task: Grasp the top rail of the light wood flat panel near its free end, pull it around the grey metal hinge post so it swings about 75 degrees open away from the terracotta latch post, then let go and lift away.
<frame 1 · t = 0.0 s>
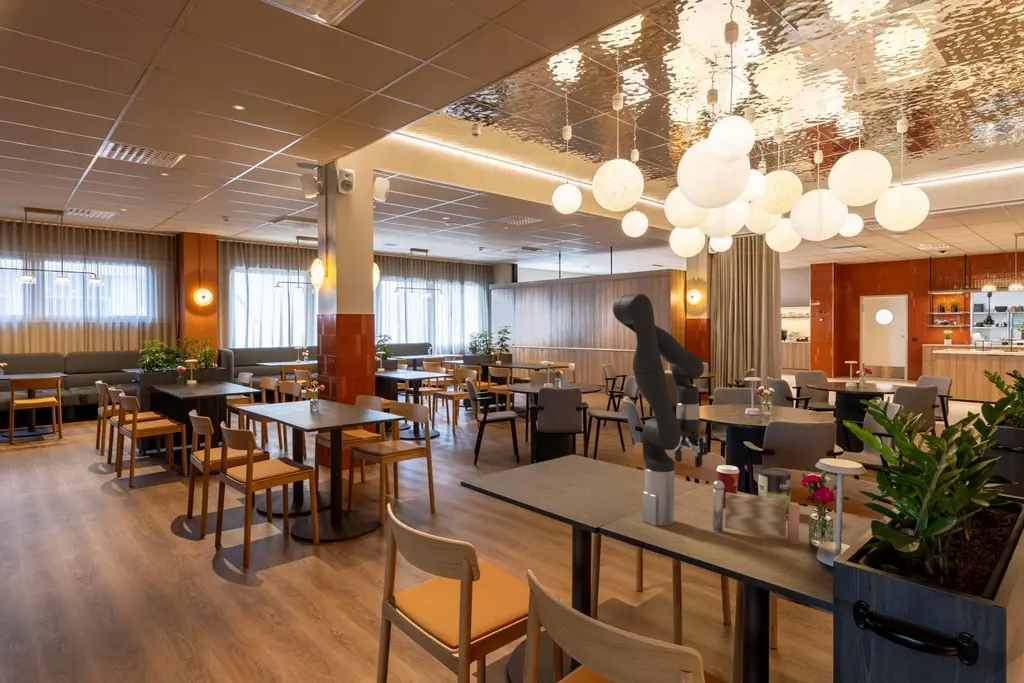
hand: (688, 464, 188), 17 cm above the table, tool pointing down, fingers open, 8 cm apart
latch post: (793, 542, 165), on the table
hinge post: (717, 530, 174), on the table
light wood flat panel: (755, 514, 169), point 7 cm above the table, hinge at 0.0°
paper cup: (727, 506, 198), on the table
coffee can: (773, 512, 193), on the table
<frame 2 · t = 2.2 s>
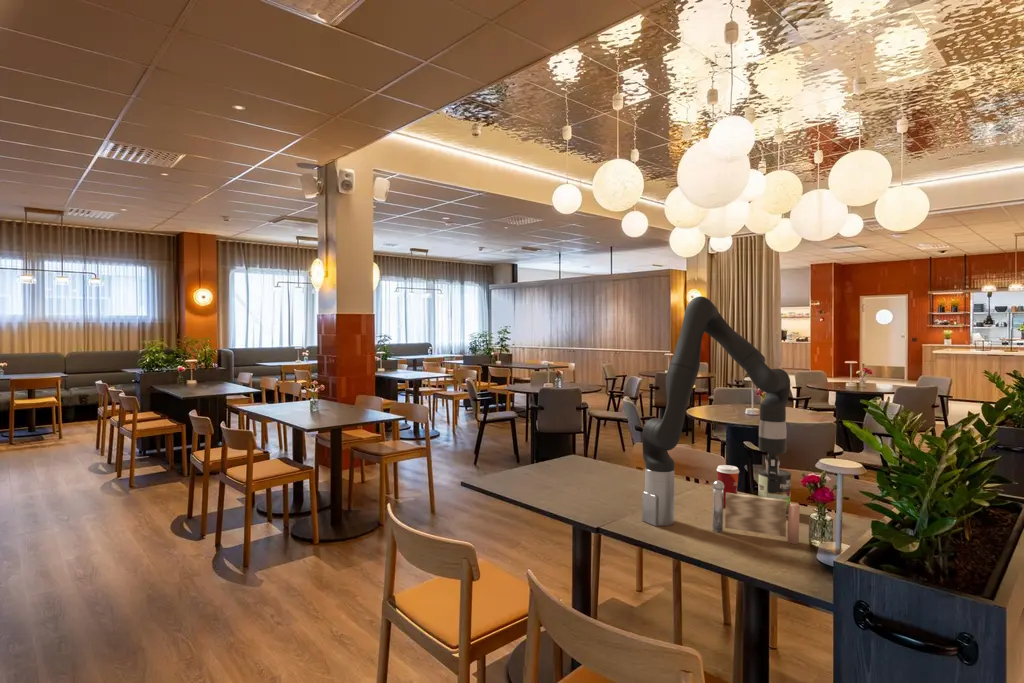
hand: (772, 489, 168), 15 cm above the table, tool pointing down, fingers open, 8 cm apart
nothing on the table moved.
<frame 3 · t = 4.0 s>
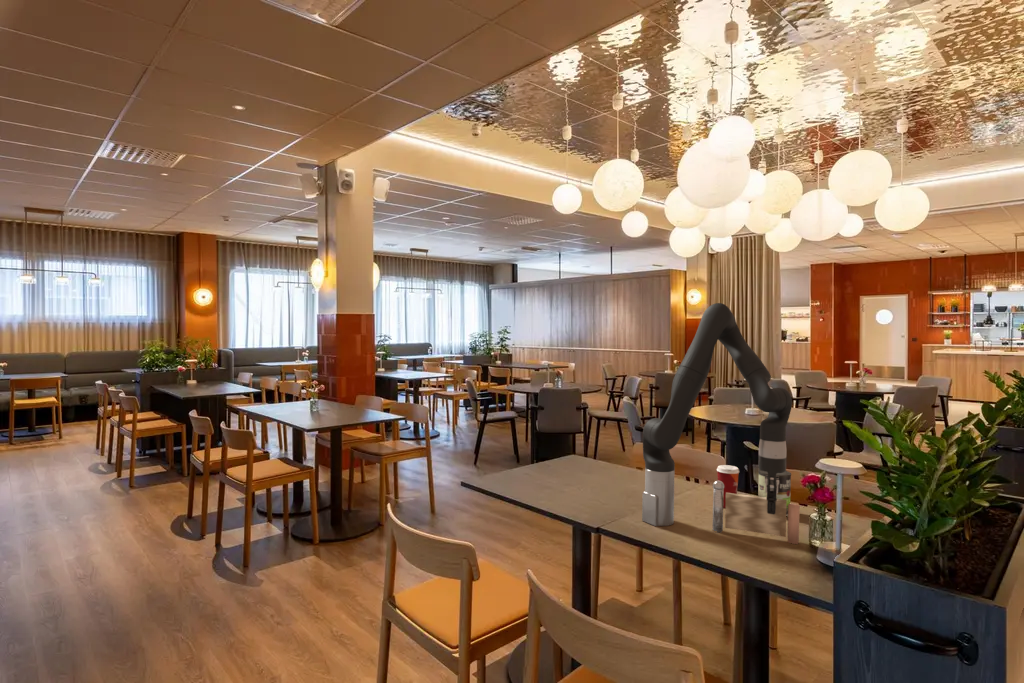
hand: (771, 512, 167), 8 cm above the table, tool pointing down, fingers closed on light wood flat panel, 2 cm apart
light wood flat panel: (755, 514, 169), point 7 cm above the table, hinge at 0.0°, touching gripper
everything else where it was.
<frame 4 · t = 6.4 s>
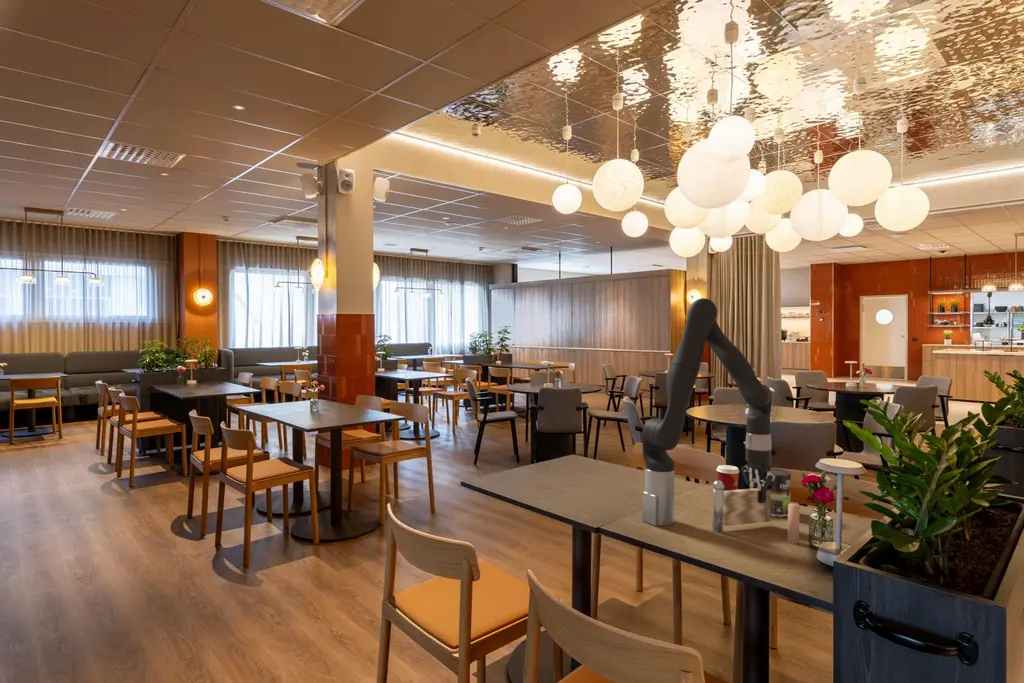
hand: (758, 501, 178), 8 cm above the table, tool pointing down, fingers closed on light wood flat panel, 2 cm apart
light wood flat panel: (746, 506, 177), point 7 cm above the table, hinge at 41.6°, touching gripper
everything else where it was.
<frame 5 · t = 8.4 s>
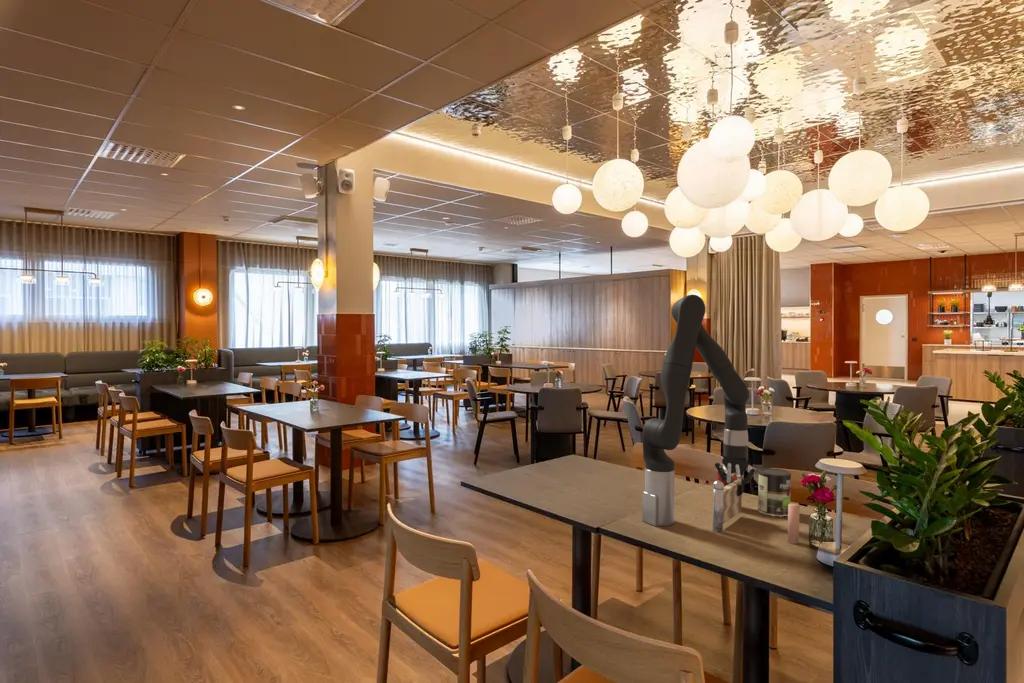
hand: (735, 494, 185), 8 cm above the table, tool pointing down, fingers closed on light wood flat panel, 2 cm apart
light wood flat panel: (730, 501, 182), point 7 cm above the table, hinge at 74.0°, touching gripper
everything else where it was.
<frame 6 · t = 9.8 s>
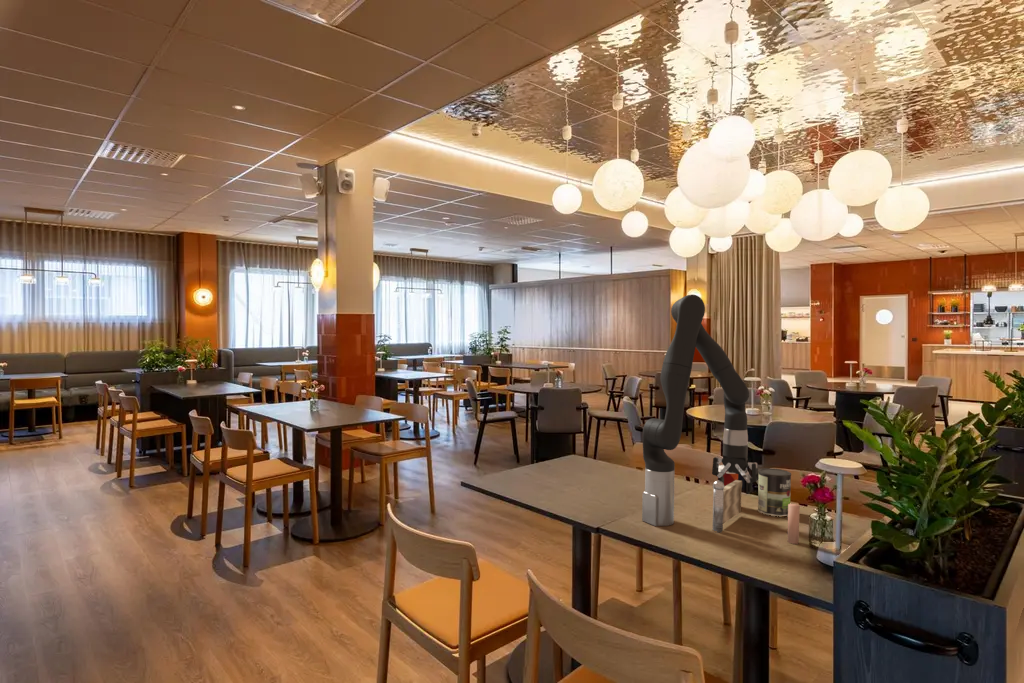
hand: (734, 491, 185), 9 cm above the table, tool pointing down, fingers open, 8 cm apart
light wood flat panel: (730, 501, 182), point 7 cm above the table, hinge at 74.4°
everything else where it was.
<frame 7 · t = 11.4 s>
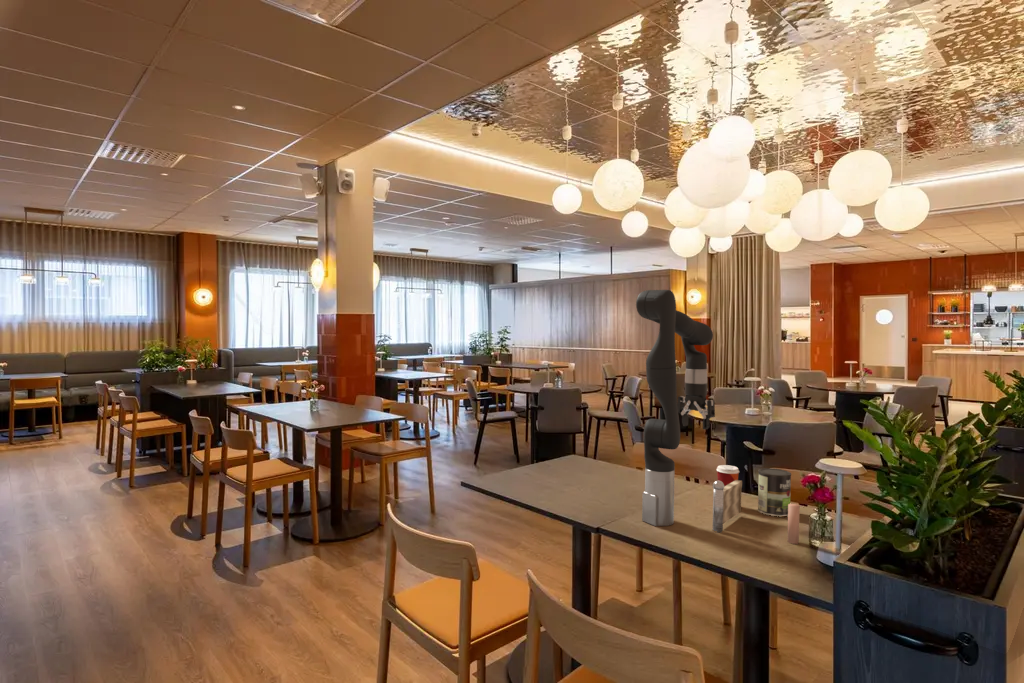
hand: (695, 427, 198), 28 cm above the table, tool pointing down, fingers open, 8 cm apart
nothing on the table moved.
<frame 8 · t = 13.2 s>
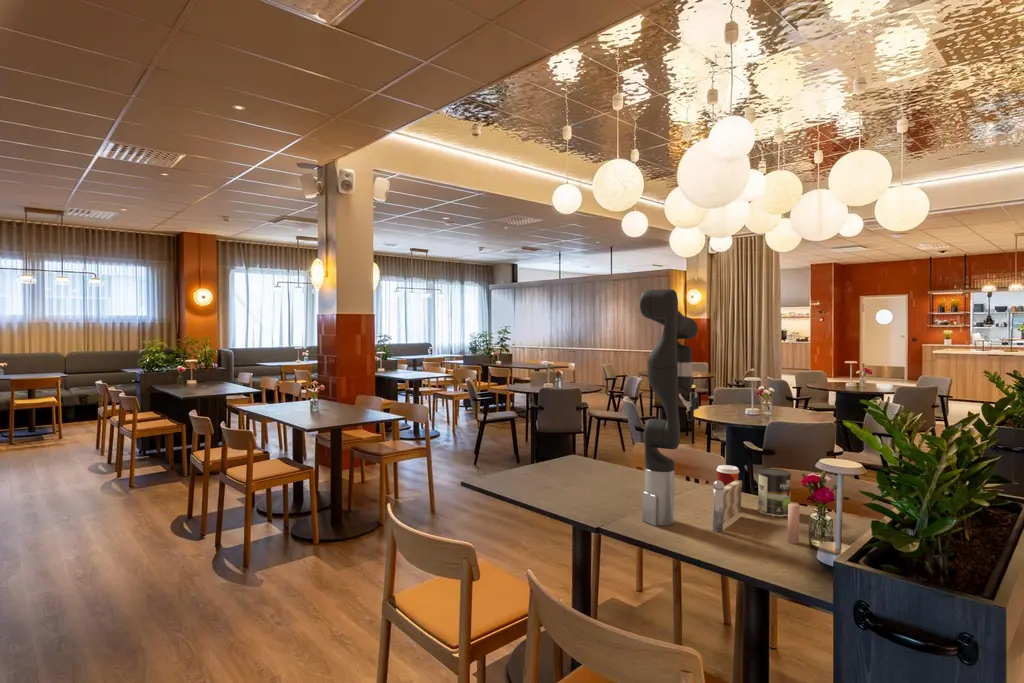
hand: (680, 419, 203), 30 cm above the table, tool pointing down, fingers open, 8 cm apart
nothing on the table moved.
at the end: light wood flat panel at +74° (first picture: +0°); coffee can moved 0.2 cm from its start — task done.
